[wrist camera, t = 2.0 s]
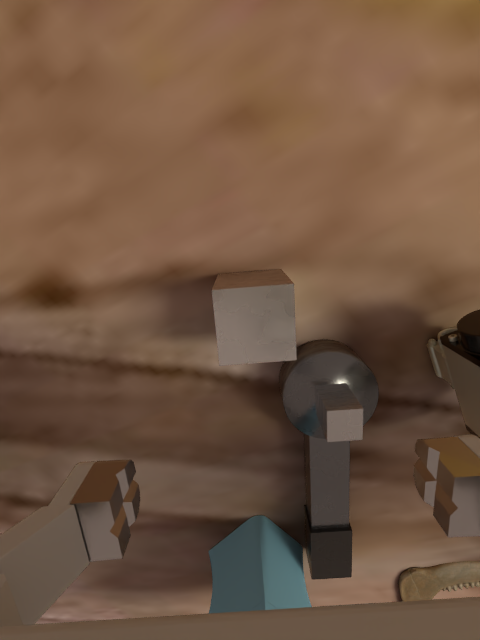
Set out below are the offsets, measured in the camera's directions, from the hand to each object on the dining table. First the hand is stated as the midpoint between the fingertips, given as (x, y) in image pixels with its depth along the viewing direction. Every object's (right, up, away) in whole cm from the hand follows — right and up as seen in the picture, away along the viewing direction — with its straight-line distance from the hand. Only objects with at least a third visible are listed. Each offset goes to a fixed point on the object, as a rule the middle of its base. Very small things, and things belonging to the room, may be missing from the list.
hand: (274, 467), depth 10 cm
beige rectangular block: (0, +6, +20) cm, 21 cm away
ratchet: (+7, -9, +24) cm, 27 cm away
